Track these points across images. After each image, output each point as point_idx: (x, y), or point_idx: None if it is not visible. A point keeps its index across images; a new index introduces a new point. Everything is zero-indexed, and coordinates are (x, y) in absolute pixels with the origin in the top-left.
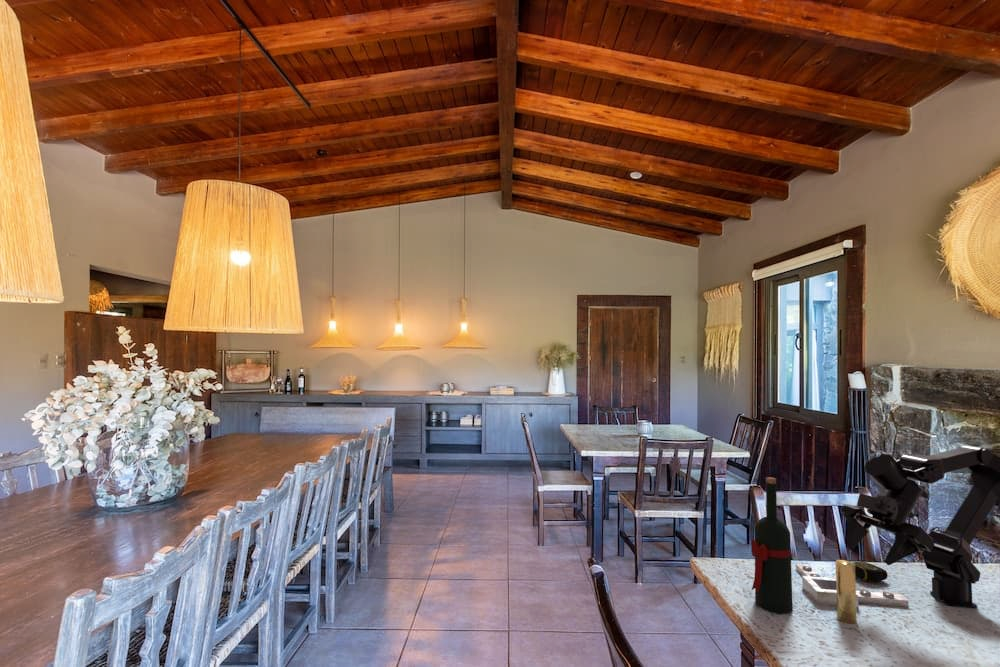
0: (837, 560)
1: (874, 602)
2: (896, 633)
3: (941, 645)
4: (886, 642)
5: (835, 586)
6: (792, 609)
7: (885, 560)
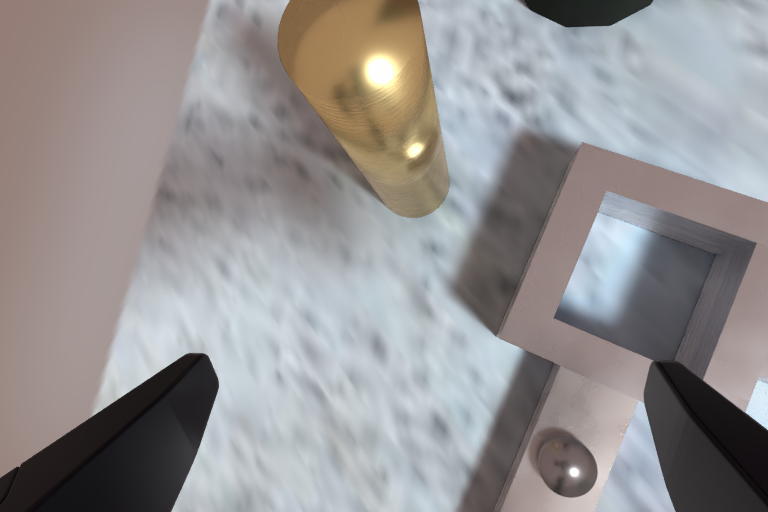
0: (411, 4)
1: (515, 464)
2: (281, 290)
3: None
4: (247, 190)
5: None
6: (530, 3)
7: (187, 360)
